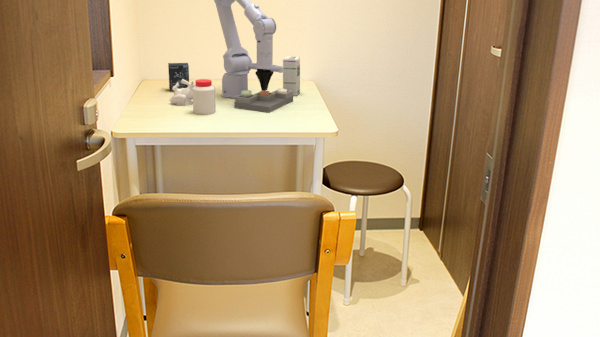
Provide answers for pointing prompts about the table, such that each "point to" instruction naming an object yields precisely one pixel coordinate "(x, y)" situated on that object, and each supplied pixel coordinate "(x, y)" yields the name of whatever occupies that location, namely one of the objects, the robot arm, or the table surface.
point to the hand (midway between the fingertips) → (264, 90)
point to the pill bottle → (204, 97)
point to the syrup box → (291, 74)
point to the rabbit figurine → (183, 93)
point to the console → (264, 101)
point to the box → (178, 74)
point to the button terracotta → (264, 93)
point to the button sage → (246, 93)
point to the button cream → (281, 90)
